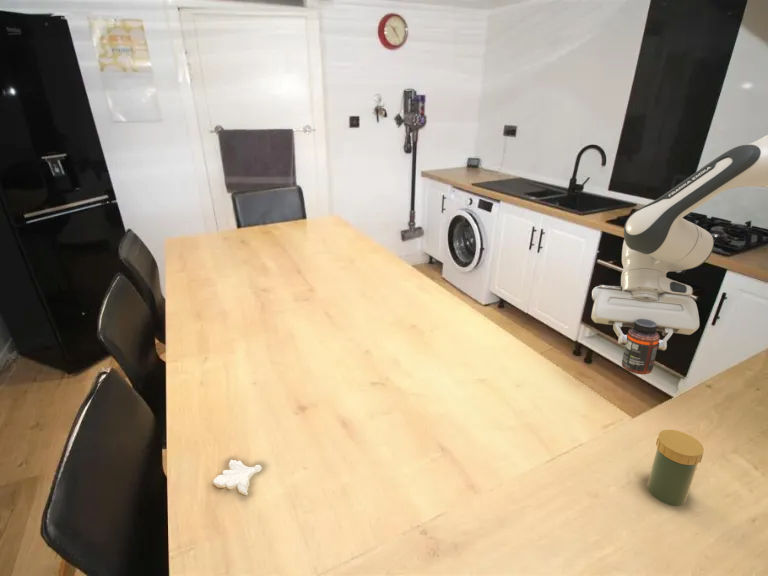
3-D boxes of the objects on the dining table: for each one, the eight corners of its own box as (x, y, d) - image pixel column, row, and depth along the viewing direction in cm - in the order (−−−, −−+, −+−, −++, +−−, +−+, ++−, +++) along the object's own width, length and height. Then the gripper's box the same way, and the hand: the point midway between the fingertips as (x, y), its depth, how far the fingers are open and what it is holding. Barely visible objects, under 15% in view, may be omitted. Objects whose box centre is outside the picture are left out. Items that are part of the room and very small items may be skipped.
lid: (703, 450, 67) (706, 441, 66) (697, 471, 63) (700, 461, 62) (660, 433, 71) (662, 424, 70) (652, 452, 67) (654, 443, 66)
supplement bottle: (649, 364, 92) (661, 319, 88) (653, 378, 87) (665, 330, 83) (619, 359, 95) (629, 314, 91) (621, 372, 90) (631, 325, 86)
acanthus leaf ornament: (247, 498, 71) (245, 490, 71) (210, 494, 72) (208, 486, 72) (265, 465, 78) (263, 457, 78) (231, 462, 79) (229, 454, 78)
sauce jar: (688, 493, 70) (703, 443, 67) (682, 513, 66) (698, 462, 63) (650, 476, 74) (663, 428, 70) (643, 494, 70) (656, 445, 66)
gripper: (594, 278, 94) (591, 334, 89) (701, 288, 87) (703, 349, 82) (590, 289, 100) (586, 343, 95) (690, 299, 93) (692, 358, 88)
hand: (642, 346), depth 88 cm, fingers closed on supplement bottle, 6 cm apart
